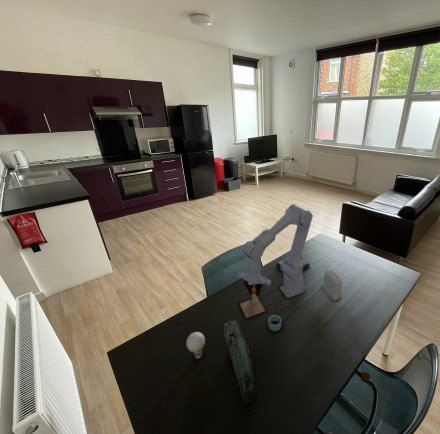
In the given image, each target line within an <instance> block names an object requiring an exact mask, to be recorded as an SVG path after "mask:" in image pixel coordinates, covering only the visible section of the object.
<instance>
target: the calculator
mask: <svg viewBox="0 0 440 434" xmlns="http://www.w3.org/2000/svg"><path fill="white" fill-rule="evenodd" d="M283 261H284V259H281V260H279V261H277V262H276V269H277V270H278V271H280V272H281V273H282V274H283V272H282V271H281V269H280V268H281V265H282V263H283ZM300 261H301V263H302V265H303V269H302V271H307V270H308V269H309V268H310V263H309V261H307V260H305V259H304V258H302V257H301V258H300Z"/></svg>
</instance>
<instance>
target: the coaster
mask: <svg viewBox="0 0 440 434" xmlns="http://www.w3.org/2000/svg"><path fill="white" fill-rule="evenodd" d="M239 306H240V308H241V310H242V312H243V314H244V317H245V319H248V318H251V317H254V316H257V315H259V314H262V313H265V312H266V309H265V308H264V305H263V304H262V302H261V301H260V299H259V298H258V302H256V303H254V302H252V299H249V300H246V301H243V302H241V303H239Z"/></svg>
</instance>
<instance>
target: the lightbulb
mask: <svg viewBox="0 0 440 434" xmlns="http://www.w3.org/2000/svg"><path fill="white" fill-rule="evenodd" d="M205 344H206V337H205V335H204V334H203V333H202V332H200V331H195V332H191V333H190V334H189V335H188V336H187V339H186V341H185V346H186V349H187V350H188V351H189V352H191V353H193V355H194V358H195V359H197V360H198V359H200V358H202V357H203V348H204V347H205Z"/></svg>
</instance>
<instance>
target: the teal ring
mask: <svg viewBox="0 0 440 434" xmlns="http://www.w3.org/2000/svg"><path fill="white" fill-rule="evenodd" d="M272 322H277V323H278V324H273V323H272ZM282 323H283V321H282V318H281V316H280V315H278V314H271V316H269V317H268V319H267V327H268V329H269V330H270V331H273V332H278V331H279V330H280V329H281V328H282Z"/></svg>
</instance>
